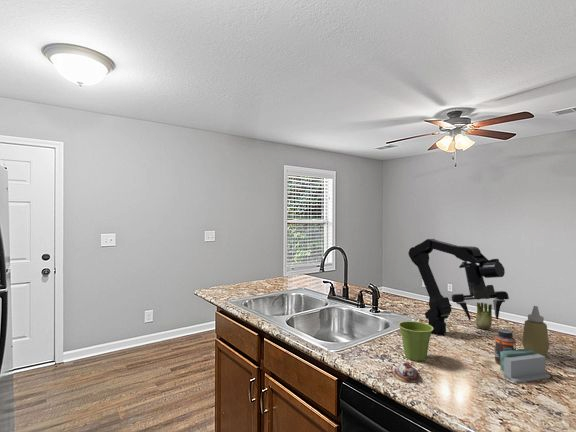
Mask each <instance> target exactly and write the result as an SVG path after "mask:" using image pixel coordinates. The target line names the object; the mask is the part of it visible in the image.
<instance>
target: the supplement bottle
mask: <svg viewBox="0 0 576 432" xmlns="http://www.w3.org/2000/svg"><path fill="white" fill-rule="evenodd" d="M513 336H514V335H513V331H512V330H509V329H506V328H500V329H498V331H497V334H496V336H495V337H494V357H495V362H496V363H497V364H499V365H500V352H501V351H510V350H517V342H516V339H515V338H514V337H513Z"/></svg>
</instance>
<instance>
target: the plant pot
mask: <svg viewBox="0 0 576 432" xmlns="http://www.w3.org/2000/svg"><path fill="white" fill-rule="evenodd" d="M428 324H429V323H425V322H420V321H412V320H409V321H408V320H407V321H400V322H398V325H397V326H398V327H399V330H400V334H401V339H402V346H403V353H404V356H405V357H406V358H407V359H408V360H411V361H414V362H416V361H417V362H419V361H422V362H423V361H426V360H427V359H428V357H427V356H428V352H429V351H428V350H429V345H430V339H431V336H432V334H431V332H432V331H433V327H432V326H430V325H428Z"/></svg>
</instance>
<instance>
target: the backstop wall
mask: <svg viewBox="0 0 576 432" xmlns="http://www.w3.org/2000/svg"><path fill="white" fill-rule="evenodd" d="M503 377H504V378H505V379H508V380H510V381H511V382H513V383H515V384H519V383H525V382H532V381H539V380H546V379H551V374H549V373H546V356H542V355H540V354H532V355H524V356H515V357H507V358H504V374H503Z"/></svg>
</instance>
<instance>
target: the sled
mask: <svg viewBox="0 0 576 432" xmlns="http://www.w3.org/2000/svg"><path fill="white" fill-rule="evenodd" d="M532 354H534V351H531V350H529V349H524V348H521V349H520V348H519V349H516V350H510V351H501V352H500V365H499V364H497V363H496V362H495V356H490V357H484V356H482V355H478V362H479V363H481V364H483V365H485V366H487V367H489V368H490V369H493V370H495V371H496V372H499V373H501V374H502V375H504V358H507V357H515V356H524V355H532Z"/></svg>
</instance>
